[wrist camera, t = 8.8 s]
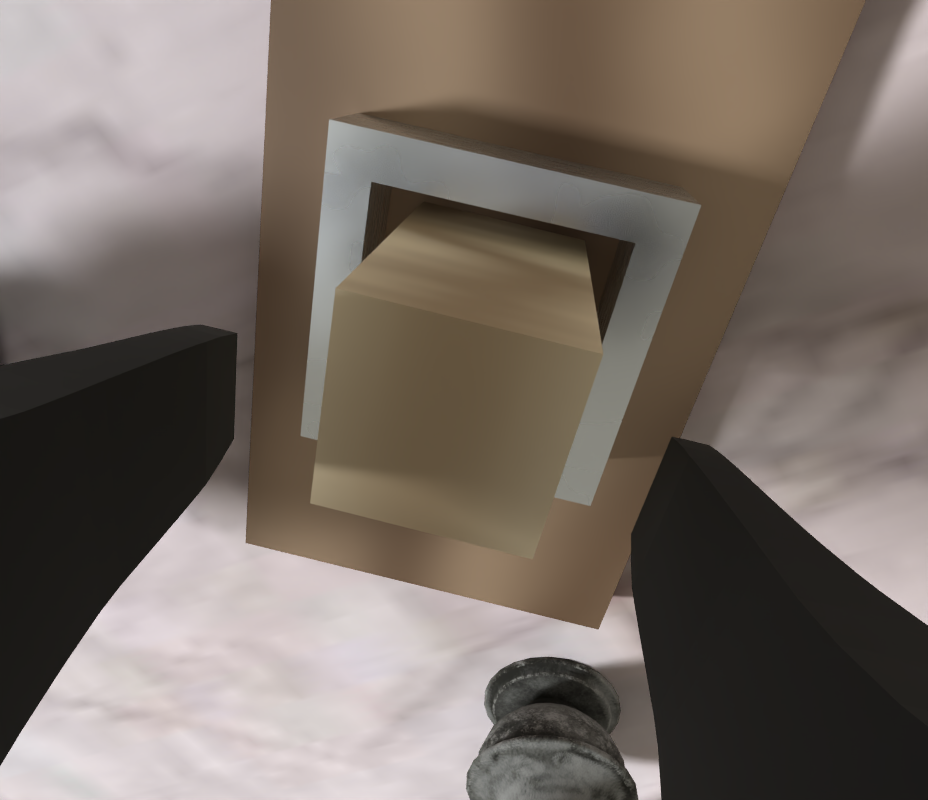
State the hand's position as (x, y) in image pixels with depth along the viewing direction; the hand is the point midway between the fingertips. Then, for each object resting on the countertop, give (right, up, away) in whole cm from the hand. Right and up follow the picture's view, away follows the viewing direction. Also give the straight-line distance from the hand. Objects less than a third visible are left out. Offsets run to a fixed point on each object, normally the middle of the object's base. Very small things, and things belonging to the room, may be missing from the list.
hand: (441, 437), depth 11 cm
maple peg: (+1, +3, +6) cm, 7 cm away
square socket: (+1, +3, +6) cm, 7 cm away
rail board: (+1, +4, +7) cm, 8 cm away
